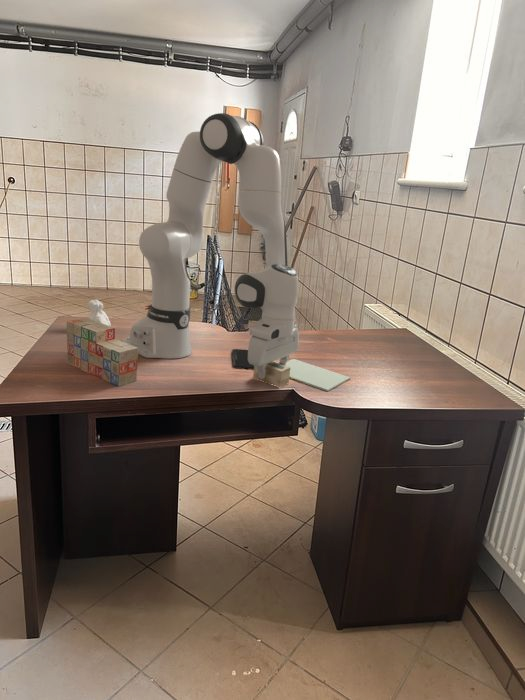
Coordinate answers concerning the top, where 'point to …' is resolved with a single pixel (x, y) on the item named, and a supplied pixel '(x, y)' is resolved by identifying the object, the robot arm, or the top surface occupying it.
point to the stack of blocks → (101, 352)
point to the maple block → (274, 374)
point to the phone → (241, 359)
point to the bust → (98, 312)
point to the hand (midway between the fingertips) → (271, 373)
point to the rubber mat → (315, 375)
